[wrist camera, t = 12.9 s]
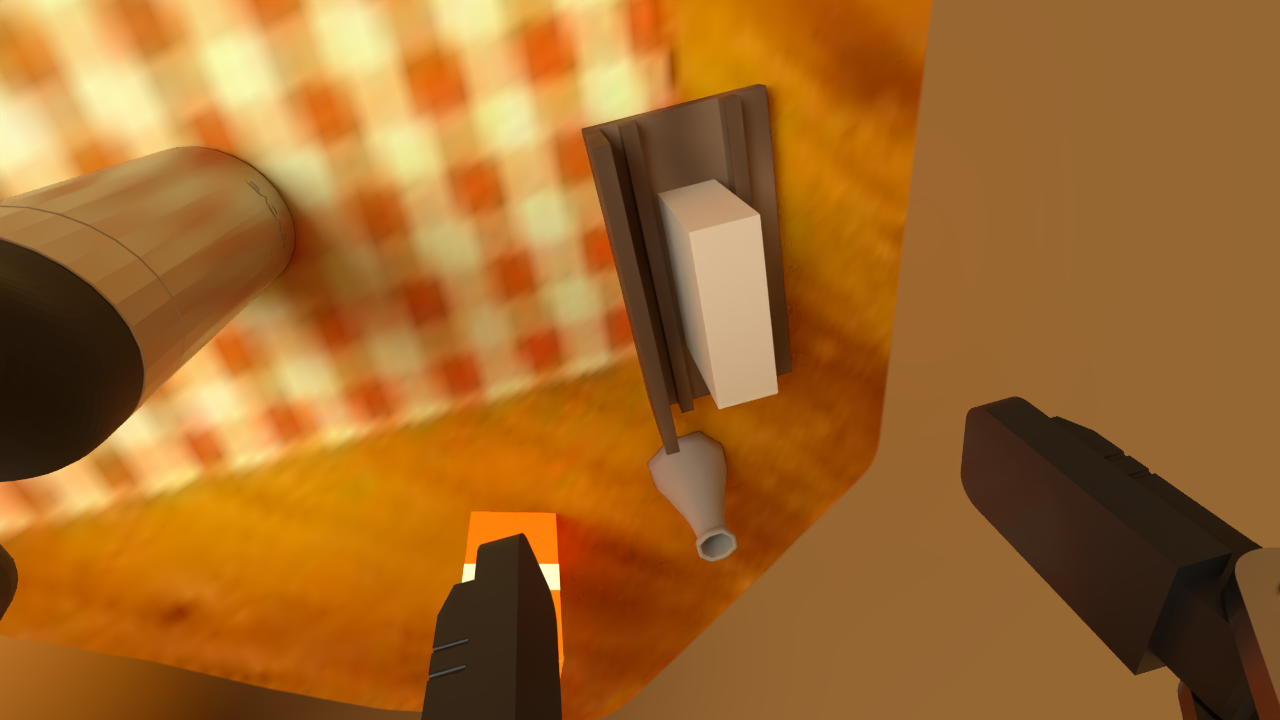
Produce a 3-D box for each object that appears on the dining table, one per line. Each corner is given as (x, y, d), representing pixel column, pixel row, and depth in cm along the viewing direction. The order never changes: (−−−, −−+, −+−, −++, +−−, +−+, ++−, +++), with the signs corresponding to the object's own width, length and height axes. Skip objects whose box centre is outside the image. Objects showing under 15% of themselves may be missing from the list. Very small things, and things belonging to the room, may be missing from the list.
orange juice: (557, 512, 53) (570, 740, 36) (547, 579, 57) (554, 813, 40) (468, 510, 51) (437, 749, 34) (464, 580, 55) (435, 825, 38)
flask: (738, 467, 54) (777, 548, 46) (674, 506, 55) (700, 593, 47) (701, 417, 51) (736, 495, 42) (633, 460, 52) (653, 544, 43)
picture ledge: (649, 399, 49) (667, 455, 42) (581, 128, 38) (591, 148, 31) (784, 362, 49) (823, 412, 43) (757, 83, 38) (804, 93, 32)
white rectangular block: (739, 331, 45) (782, 391, 38) (686, 345, 45) (718, 409, 37) (718, 177, 39) (765, 212, 31) (657, 193, 39) (689, 232, 31)
